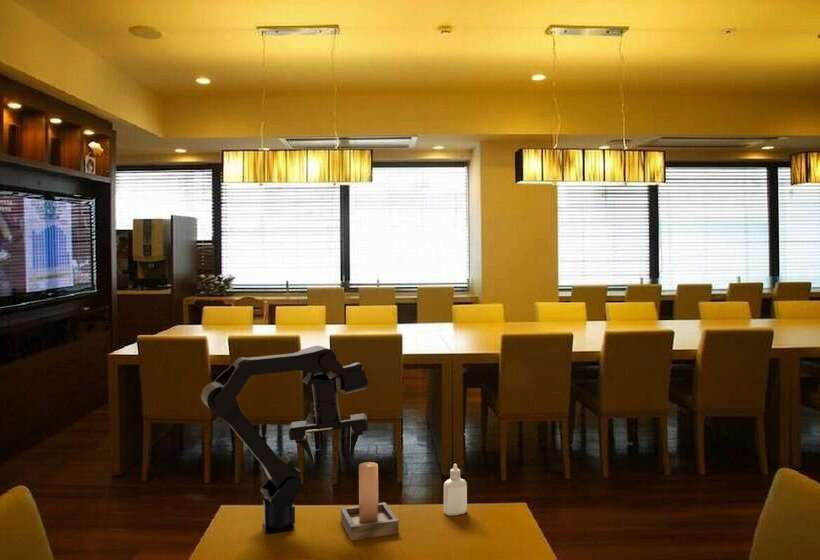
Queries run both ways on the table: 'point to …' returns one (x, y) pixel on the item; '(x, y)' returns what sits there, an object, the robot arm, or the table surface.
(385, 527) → the square wooden tray
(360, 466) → the peach tall rounded piece
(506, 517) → the table surface
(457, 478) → the eye dropper bottle
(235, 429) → the robot arm
